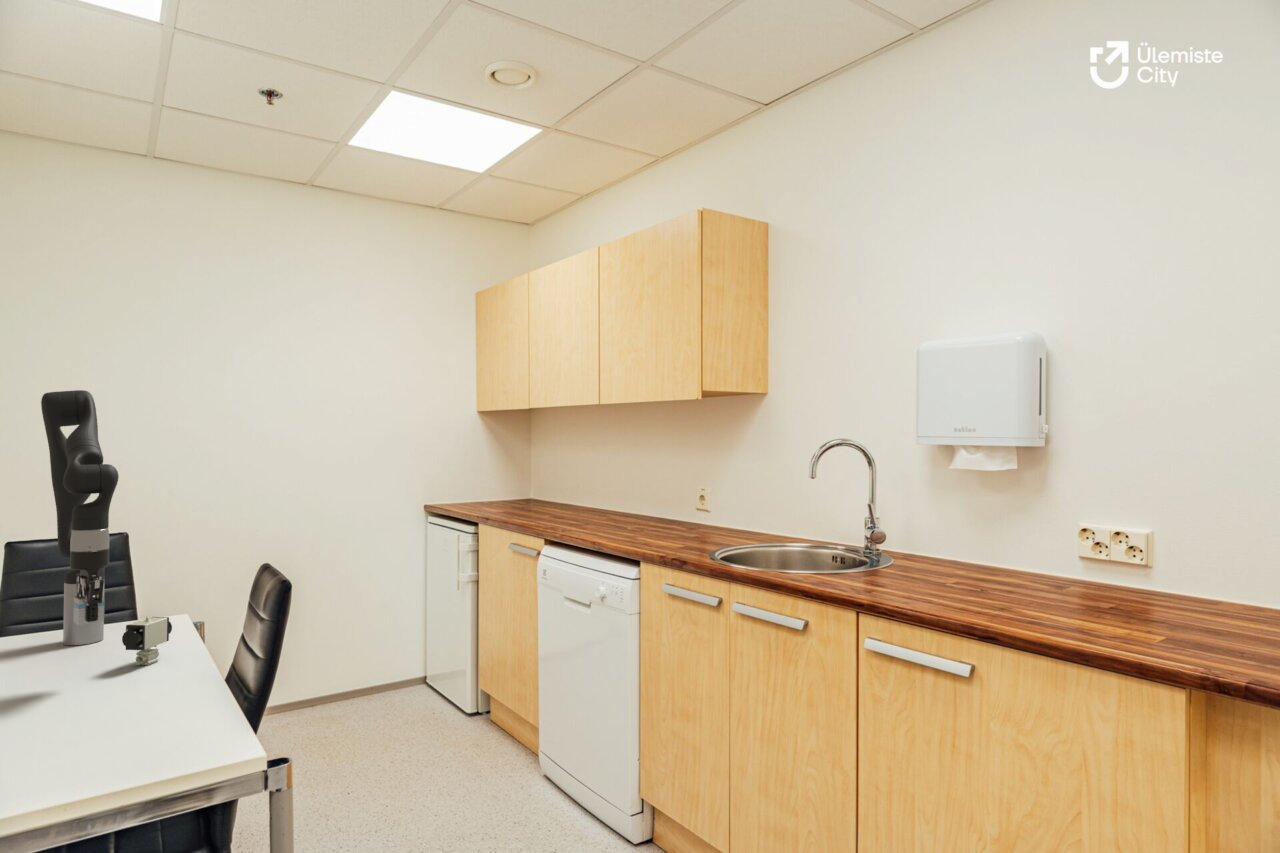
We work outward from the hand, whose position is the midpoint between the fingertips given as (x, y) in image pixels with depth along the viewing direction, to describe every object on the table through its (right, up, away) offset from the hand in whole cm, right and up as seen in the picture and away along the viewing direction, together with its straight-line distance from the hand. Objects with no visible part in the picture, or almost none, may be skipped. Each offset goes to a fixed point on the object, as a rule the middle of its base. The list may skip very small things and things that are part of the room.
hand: (88, 619), depth 175 cm
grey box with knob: (0, -1, 0) cm, 1 cm away
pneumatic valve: (+4, -15, +14) cm, 21 cm away
